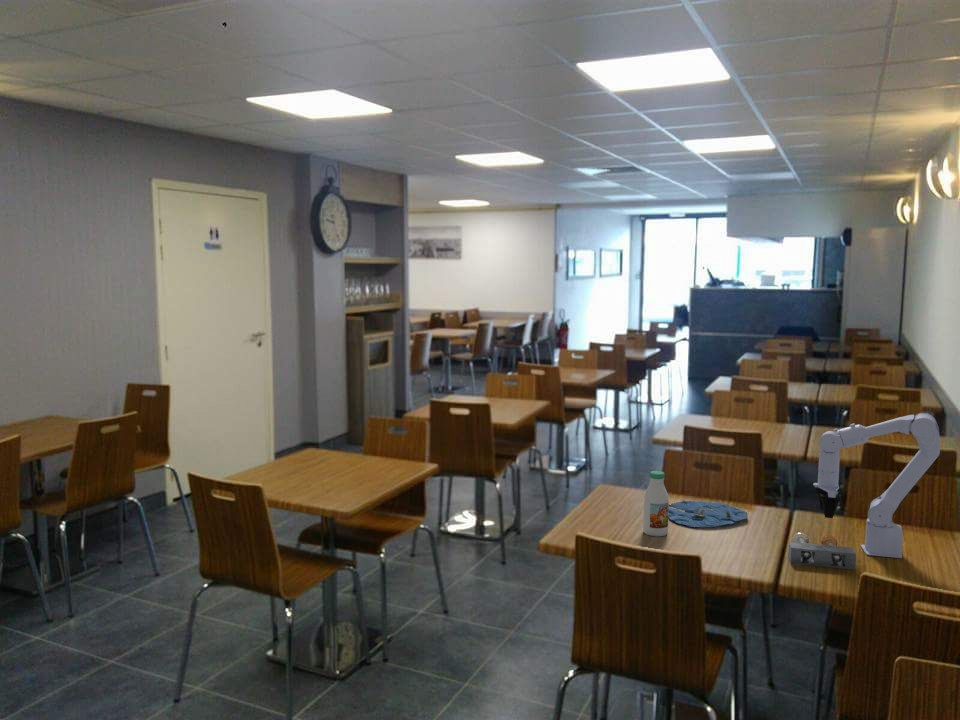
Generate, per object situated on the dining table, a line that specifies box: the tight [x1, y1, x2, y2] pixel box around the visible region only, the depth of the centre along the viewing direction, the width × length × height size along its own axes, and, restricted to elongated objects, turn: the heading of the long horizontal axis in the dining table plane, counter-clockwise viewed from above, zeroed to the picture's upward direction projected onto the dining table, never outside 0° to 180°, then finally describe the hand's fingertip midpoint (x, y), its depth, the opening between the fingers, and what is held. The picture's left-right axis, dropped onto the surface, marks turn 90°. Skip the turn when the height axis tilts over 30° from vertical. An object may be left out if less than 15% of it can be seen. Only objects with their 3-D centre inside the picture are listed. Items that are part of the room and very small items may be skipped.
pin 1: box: [792, 532, 812, 559], centre depth 220 cm, size 13×4×4 cm, turn 165°
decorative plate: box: [668, 500, 749, 529], centre depth 256 cm, size 30×30×5 cm
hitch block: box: [787, 541, 857, 571], centre depth 214 cm, size 17×5×5 cm, turn 74°
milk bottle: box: [642, 470, 670, 537], centre depth 238 cm, size 8×8×20 cm
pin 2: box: [820, 534, 842, 562], centre depth 218 cm, size 13×4×4 cm, turn 165°
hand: (826, 513), depth 229 cm, fingers open, 7 cm apart
